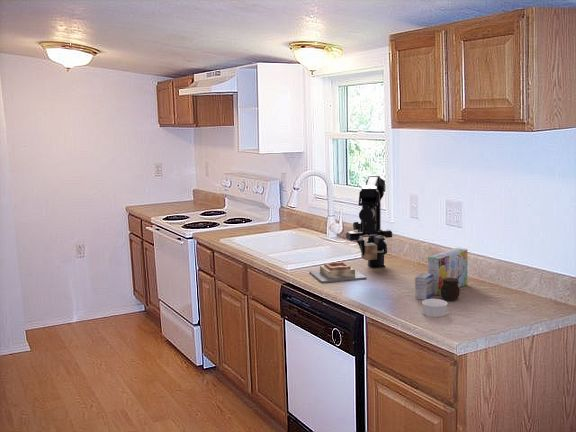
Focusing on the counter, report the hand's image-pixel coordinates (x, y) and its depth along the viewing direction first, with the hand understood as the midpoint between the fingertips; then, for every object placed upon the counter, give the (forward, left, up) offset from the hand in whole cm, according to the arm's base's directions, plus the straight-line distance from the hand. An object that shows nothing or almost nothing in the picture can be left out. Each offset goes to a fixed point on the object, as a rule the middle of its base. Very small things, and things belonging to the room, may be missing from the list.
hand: (369, 254), depth 272 cm
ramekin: (-6, +47, -12) cm, 49 cm away
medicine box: (-12, +27, -12) cm, 32 cm away
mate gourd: (-20, +33, -12) cm, 40 cm away
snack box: (-26, +20, -12) cm, 35 cm away
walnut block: (0, 0, -2) cm, 2 cm away
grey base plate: (+9, -14, -12) cm, 20 cm away
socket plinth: (+9, -14, -11) cm, 20 cm away
